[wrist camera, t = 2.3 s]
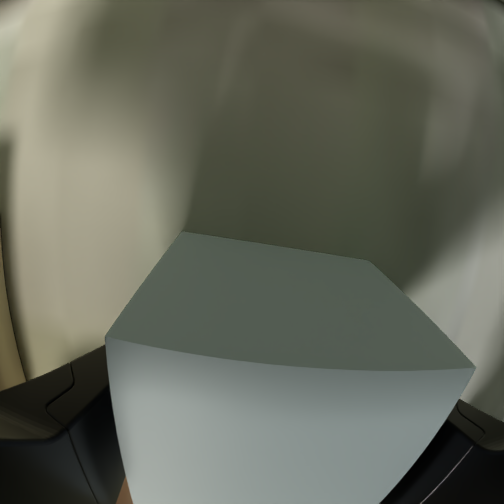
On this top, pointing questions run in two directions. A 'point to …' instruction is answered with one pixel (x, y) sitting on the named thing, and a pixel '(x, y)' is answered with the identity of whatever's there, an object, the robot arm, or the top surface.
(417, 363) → the blue-grey cube
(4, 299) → the beech slab
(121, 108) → the top surface
